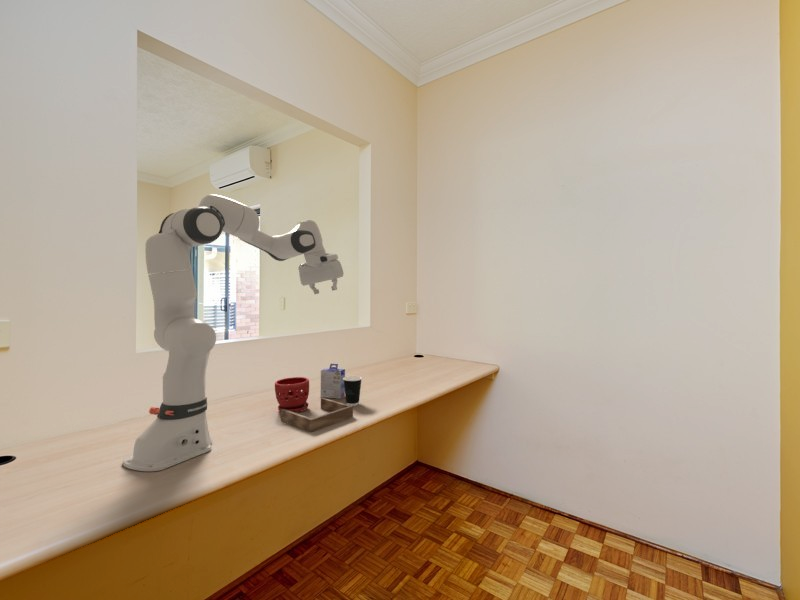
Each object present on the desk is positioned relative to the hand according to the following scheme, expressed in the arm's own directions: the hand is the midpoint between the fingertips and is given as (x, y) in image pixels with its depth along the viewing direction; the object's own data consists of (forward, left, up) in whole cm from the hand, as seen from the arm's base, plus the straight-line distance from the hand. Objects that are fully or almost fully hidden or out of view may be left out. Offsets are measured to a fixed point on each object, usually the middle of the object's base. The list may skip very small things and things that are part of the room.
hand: (325, 292), depth 154 cm
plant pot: (-13, +8, -47) cm, 49 cm away
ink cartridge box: (+9, +2, -47) cm, 48 cm away
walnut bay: (-18, -6, -47) cm, 51 cm away
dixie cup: (+2, -11, -47) cm, 48 cm away
